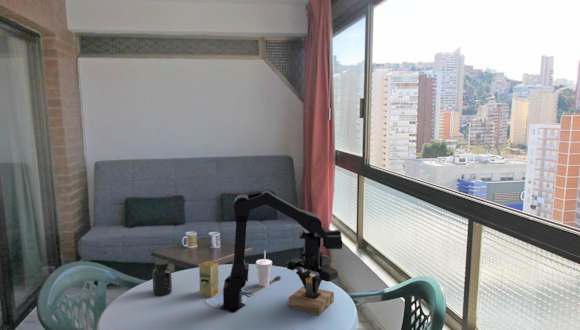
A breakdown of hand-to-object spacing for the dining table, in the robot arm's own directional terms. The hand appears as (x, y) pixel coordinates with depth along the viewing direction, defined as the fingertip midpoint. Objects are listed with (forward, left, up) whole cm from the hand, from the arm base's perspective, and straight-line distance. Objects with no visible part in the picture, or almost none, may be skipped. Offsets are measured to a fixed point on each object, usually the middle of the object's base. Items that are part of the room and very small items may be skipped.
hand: (311, 292), depth 147 cm
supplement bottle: (-20, +53, -5) cm, 57 cm away
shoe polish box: (-12, +37, -5) cm, 39 cm away
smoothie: (+5, +24, -5) cm, 25 cm away
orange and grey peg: (0, 0, -3) cm, 3 cm away
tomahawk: (+4, +22, -5) cm, 23 cm away
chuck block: (0, 0, -4) cm, 4 cm away
